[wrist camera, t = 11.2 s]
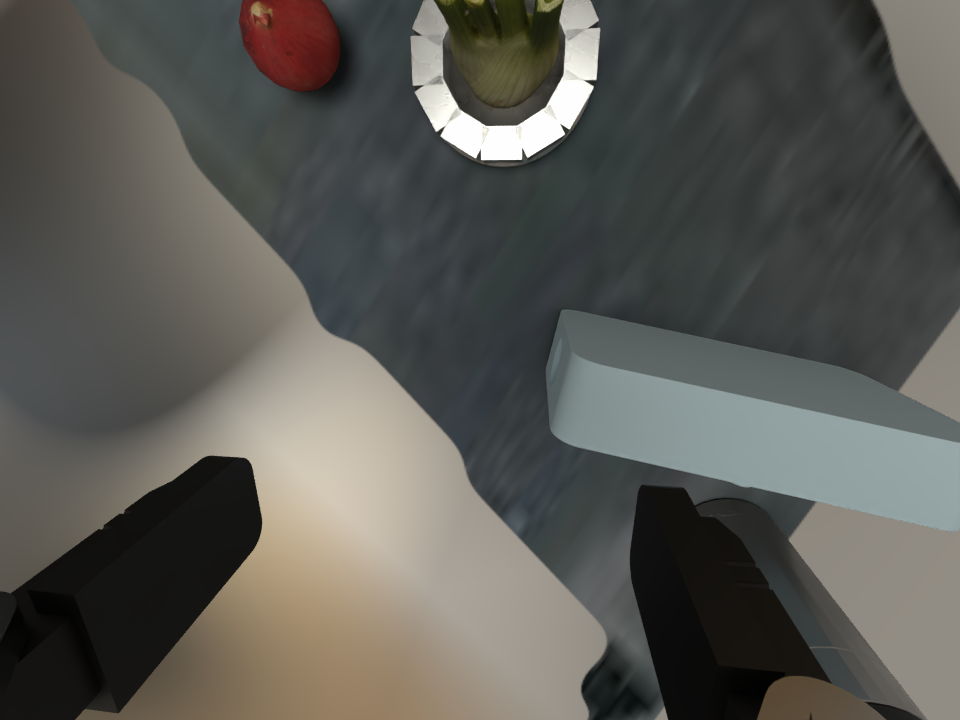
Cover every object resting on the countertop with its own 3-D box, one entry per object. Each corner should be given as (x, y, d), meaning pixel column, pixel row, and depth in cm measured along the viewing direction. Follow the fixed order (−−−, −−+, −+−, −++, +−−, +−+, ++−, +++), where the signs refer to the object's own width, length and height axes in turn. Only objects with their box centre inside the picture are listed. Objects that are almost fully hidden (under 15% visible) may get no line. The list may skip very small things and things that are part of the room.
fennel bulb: (562, 64, 29) (580, -27, 18) (520, 133, 31) (512, 89, 20) (490, 10, 29) (462, -118, 18) (450, 83, 31) (402, 9, 19)
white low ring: (623, 106, 31) (634, 94, 27) (475, 199, 34) (468, 198, 30) (543, -77, 28) (544, -116, 25) (389, 41, 31) (372, 21, 28)
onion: (288, 106, 33) (216, 75, 26) (272, 14, 31) (190, -49, 24) (362, 99, 32) (311, 65, 25) (351, 4, 31) (292, -63, 23)
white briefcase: (542, 372, 38) (547, 453, 25) (559, 306, 36) (573, 358, 23) (819, 433, 37) (968, 549, 24) (852, 369, 35) (1033, 459, 22)
